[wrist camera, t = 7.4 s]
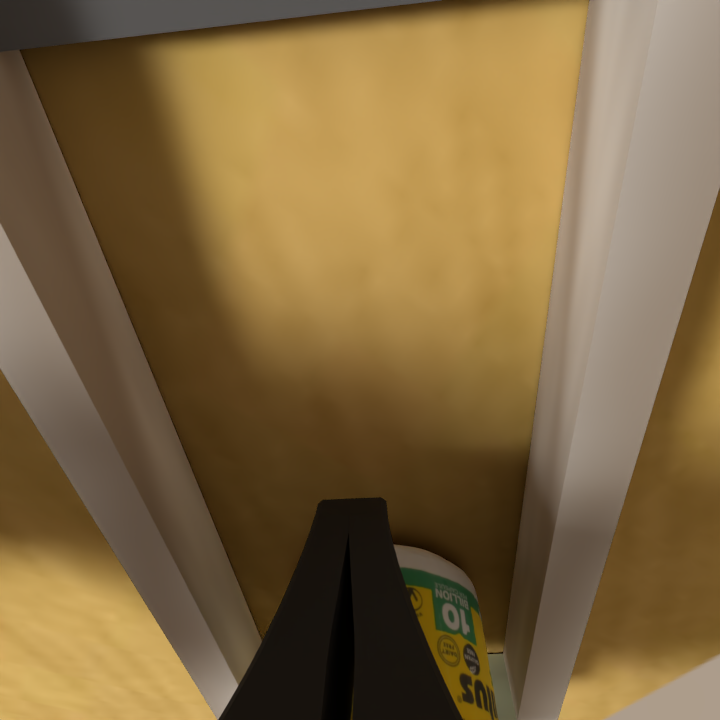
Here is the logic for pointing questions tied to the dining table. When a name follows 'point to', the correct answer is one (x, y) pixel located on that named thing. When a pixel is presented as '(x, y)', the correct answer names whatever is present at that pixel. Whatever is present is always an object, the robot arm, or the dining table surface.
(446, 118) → the dining table surface
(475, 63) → the dining table surface
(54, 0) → the trap pits
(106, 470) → the box
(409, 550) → the supplement bottle
